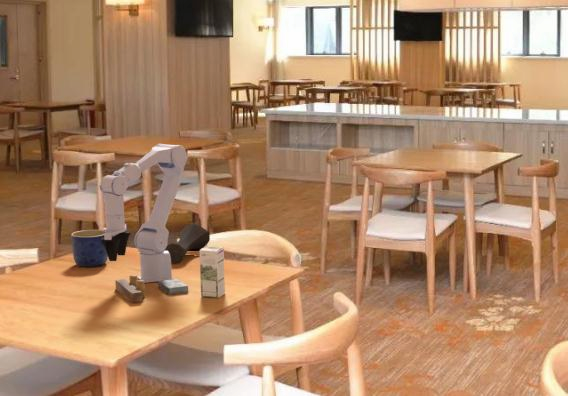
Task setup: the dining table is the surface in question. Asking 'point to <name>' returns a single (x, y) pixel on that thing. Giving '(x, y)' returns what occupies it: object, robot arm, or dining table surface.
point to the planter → (88, 248)
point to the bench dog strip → (131, 289)
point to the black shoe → (188, 242)
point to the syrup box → (212, 272)
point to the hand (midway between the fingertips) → (117, 258)
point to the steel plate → (173, 286)
